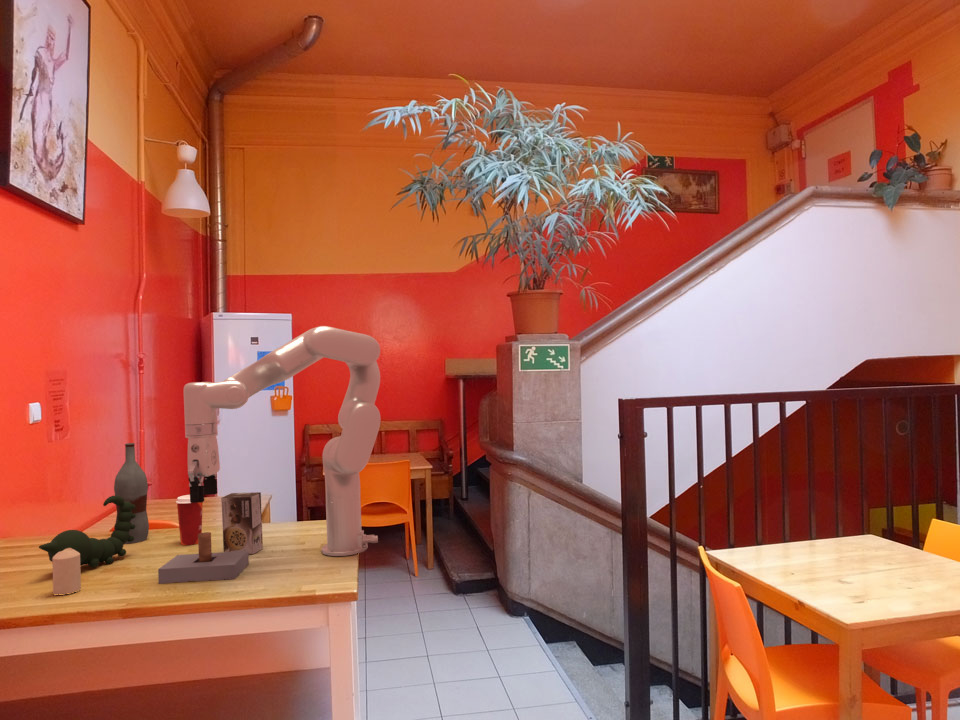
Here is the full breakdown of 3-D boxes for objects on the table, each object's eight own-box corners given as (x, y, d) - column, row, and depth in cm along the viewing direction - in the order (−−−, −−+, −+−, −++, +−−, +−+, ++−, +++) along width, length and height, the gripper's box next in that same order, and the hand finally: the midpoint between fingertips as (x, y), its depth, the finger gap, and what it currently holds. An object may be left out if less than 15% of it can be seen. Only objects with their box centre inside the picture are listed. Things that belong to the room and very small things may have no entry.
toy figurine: (117, 559, 182) (25, 579, 160) (121, 492, 184) (30, 502, 162) (140, 562, 179) (48, 583, 156) (144, 494, 180) (53, 504, 158)
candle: (61, 588, 153) (60, 547, 153) (85, 587, 154) (84, 545, 154) (48, 596, 148) (47, 553, 148) (73, 595, 148) (71, 552, 148)
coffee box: (263, 548, 183) (262, 491, 183) (253, 554, 177) (251, 496, 177) (233, 548, 184) (231, 492, 184) (222, 554, 178) (220, 496, 178)
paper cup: (210, 541, 193) (209, 494, 193) (186, 547, 186) (185, 499, 187) (194, 538, 197) (193, 493, 197) (171, 544, 191) (170, 497, 191)
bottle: (108, 544, 194) (105, 445, 194) (130, 536, 202) (128, 441, 203) (134, 545, 192) (131, 445, 192) (156, 537, 200) (153, 441, 201)
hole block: (248, 564, 168) (248, 550, 168) (234, 579, 156) (234, 564, 156) (177, 568, 166) (177, 554, 166) (158, 583, 154) (158, 569, 154)
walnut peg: (213, 571, 163) (212, 531, 163) (209, 575, 160) (208, 535, 160) (201, 571, 162) (200, 532, 163) (197, 575, 159) (196, 535, 160)
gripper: (204, 433, 153) (207, 504, 153) (227, 426, 170) (230, 490, 170) (172, 435, 153) (175, 506, 152) (198, 428, 170) (201, 492, 170)
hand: (204, 498), depth 161 cm, fingers open, 9 cm apart
